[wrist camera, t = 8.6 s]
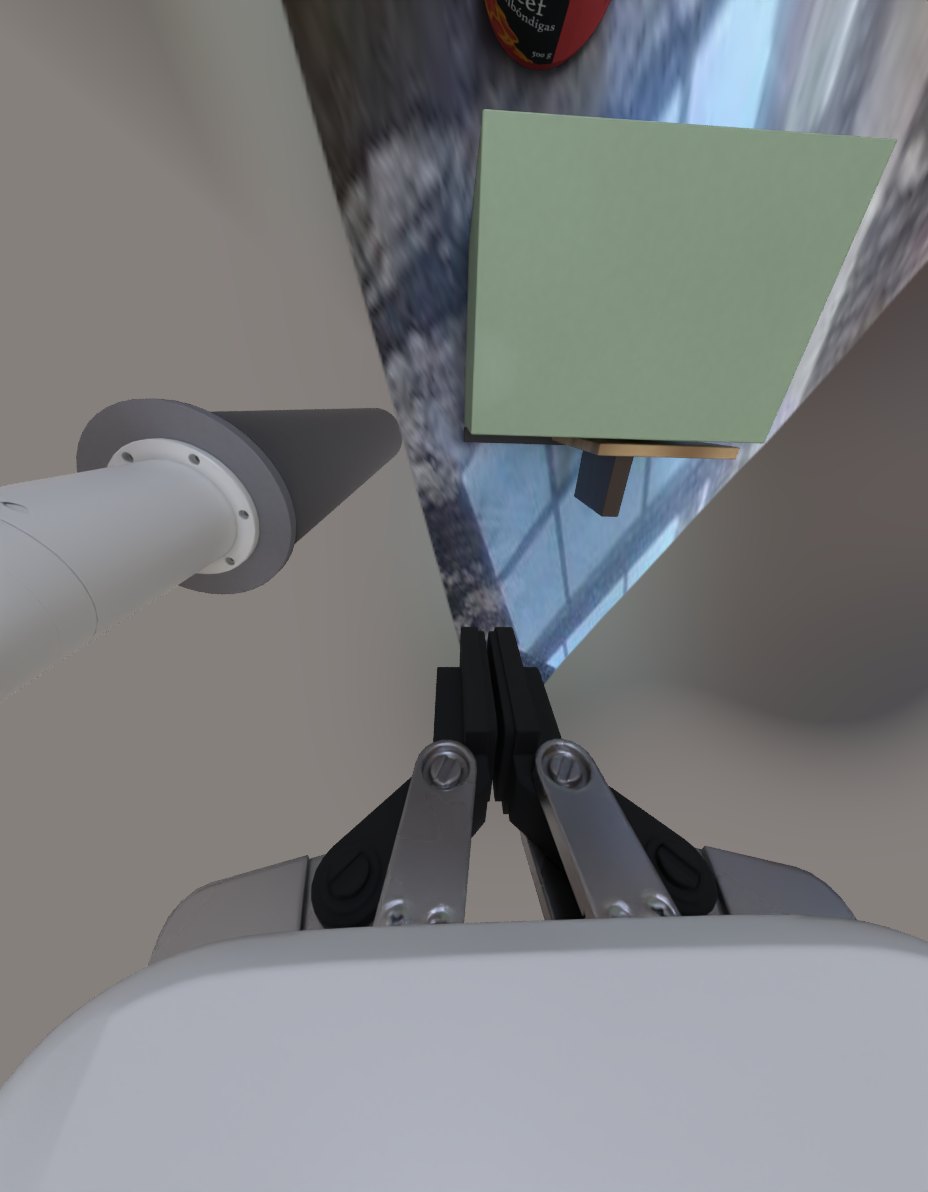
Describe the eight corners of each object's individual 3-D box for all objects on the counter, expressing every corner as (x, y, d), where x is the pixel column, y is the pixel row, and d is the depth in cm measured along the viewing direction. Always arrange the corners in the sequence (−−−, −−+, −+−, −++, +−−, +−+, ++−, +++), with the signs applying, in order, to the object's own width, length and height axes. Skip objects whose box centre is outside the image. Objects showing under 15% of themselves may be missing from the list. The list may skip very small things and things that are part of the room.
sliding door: (544, 485, 32) (584, 518, 23) (552, 431, 30) (600, 443, 20) (635, 487, 33) (710, 520, 23) (649, 434, 30) (741, 447, 21)
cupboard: (463, 441, 31) (469, 460, 20) (469, 237, 24) (482, 107, 13) (653, 447, 31) (753, 467, 21) (710, 251, 25) (898, 138, 14)
